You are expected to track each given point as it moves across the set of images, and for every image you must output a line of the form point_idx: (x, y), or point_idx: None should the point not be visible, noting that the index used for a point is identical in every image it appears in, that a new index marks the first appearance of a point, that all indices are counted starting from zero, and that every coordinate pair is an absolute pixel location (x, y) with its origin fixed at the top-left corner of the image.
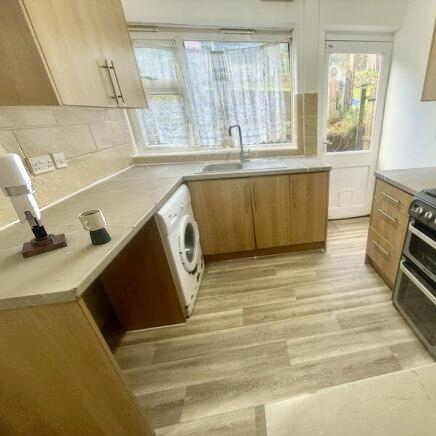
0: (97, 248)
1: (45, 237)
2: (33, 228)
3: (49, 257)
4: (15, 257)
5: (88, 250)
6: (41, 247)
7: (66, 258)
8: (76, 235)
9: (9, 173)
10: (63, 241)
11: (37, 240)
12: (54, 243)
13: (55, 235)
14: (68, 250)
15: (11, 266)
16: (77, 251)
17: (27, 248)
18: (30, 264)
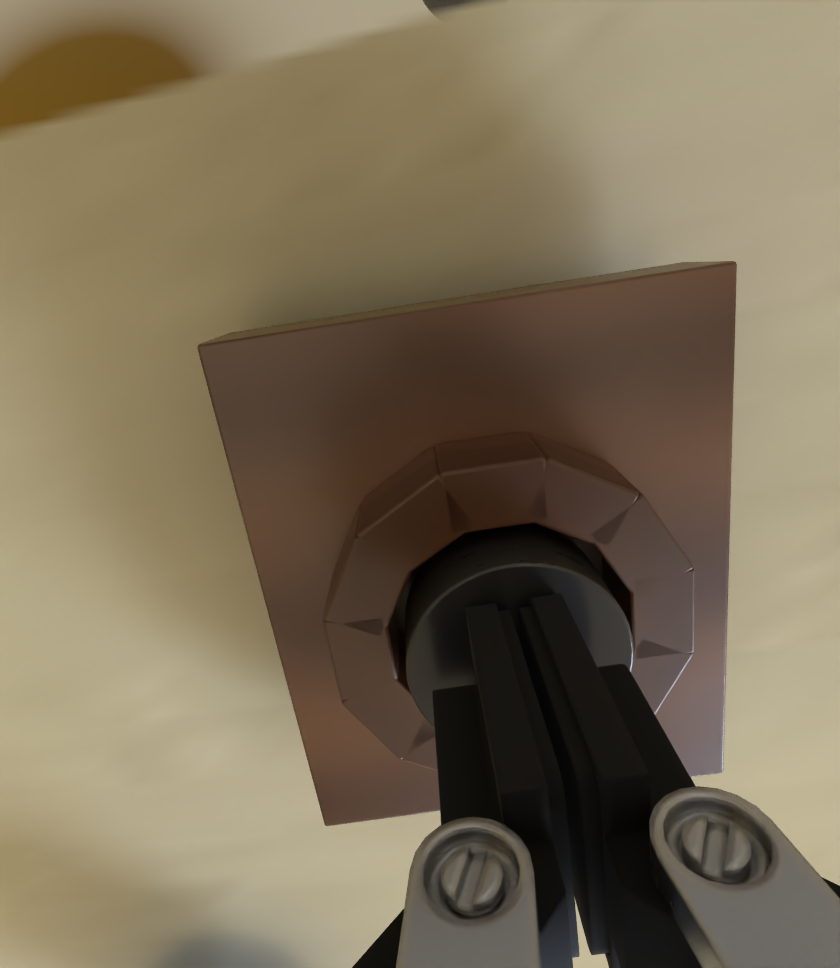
0: (162, 954)
1: (432, 716)
2: (442, 860)
3: (182, 588)
4: (477, 147)
5: (156, 897)
6: (276, 591)
7: (47, 749)
8: (755, 756)
9: None
10: (339, 810)
11: (418, 594)
12: (335, 723)
13: (712, 684)
14: (283, 738)
15: (130, 180)
16: (192, 817)
17: (370, 397)
18: (69, 419)
